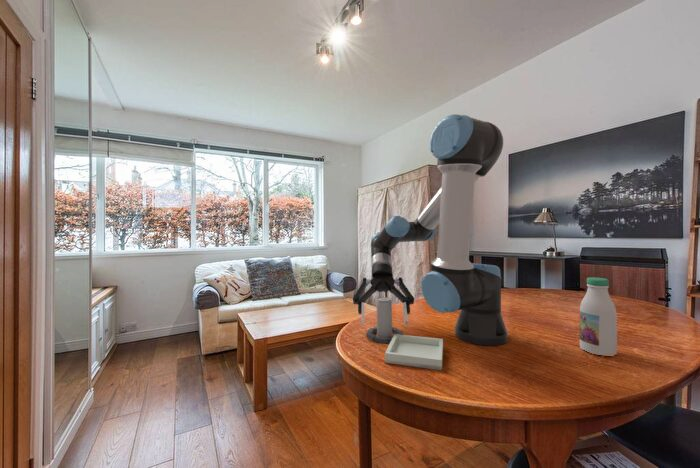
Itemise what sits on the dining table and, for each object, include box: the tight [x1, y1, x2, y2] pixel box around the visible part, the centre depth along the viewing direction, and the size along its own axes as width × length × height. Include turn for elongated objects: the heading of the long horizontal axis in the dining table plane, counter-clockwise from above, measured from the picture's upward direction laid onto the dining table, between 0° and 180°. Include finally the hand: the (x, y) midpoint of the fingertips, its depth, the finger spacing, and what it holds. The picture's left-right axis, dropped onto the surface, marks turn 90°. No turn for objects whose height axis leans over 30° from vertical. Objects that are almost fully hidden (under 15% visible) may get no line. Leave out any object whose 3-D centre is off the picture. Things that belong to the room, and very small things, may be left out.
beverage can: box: [376, 296, 393, 337], centre depth 93 cm, size 5×5×12 cm
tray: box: [384, 333, 444, 371], centre depth 79 cm, size 14×14×2 cm
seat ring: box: [365, 326, 404, 344], centre depth 93 cm, size 11×11×1 cm
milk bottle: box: [579, 276, 618, 355], centre depth 79 cm, size 8×8×20 cm
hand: (384, 323), depth 91 cm, fingers open, 13 cm apart
